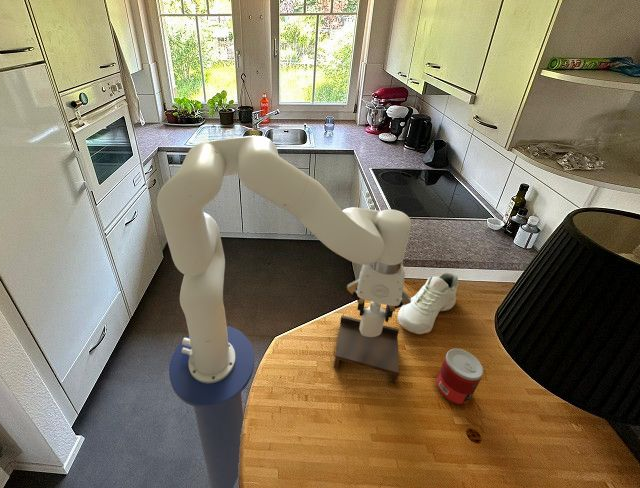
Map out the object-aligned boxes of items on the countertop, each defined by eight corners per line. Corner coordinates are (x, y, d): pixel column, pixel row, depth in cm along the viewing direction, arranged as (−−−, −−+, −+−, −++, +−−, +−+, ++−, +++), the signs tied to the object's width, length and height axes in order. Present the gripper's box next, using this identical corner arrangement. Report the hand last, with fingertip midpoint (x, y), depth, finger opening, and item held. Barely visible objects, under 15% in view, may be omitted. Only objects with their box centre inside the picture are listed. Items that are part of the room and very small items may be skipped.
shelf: (333, 367, 88) (336, 350, 85) (339, 331, 98) (341, 315, 95) (395, 384, 84) (400, 368, 81) (394, 345, 94) (398, 328, 91)
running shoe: (385, 324, 100) (393, 292, 94) (428, 283, 116) (437, 253, 109) (417, 348, 93) (428, 315, 87) (458, 300, 109) (470, 270, 102)
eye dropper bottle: (361, 322, 89) (366, 290, 84) (382, 329, 87) (389, 297, 81) (357, 334, 86) (363, 302, 80) (379, 342, 84) (387, 309, 78)
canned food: (469, 411, 78) (483, 385, 73) (434, 394, 82) (444, 368, 76) (470, 384, 84) (483, 357, 79) (437, 369, 87) (447, 343, 82)
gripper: (345, 263, 74) (338, 318, 82) (426, 279, 69) (410, 335, 78) (348, 243, 80) (341, 296, 89) (423, 257, 76) (408, 311, 84)
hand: (373, 314), depth 83 cm, fingers closed on eye dropper bottle, 5 cm apart
